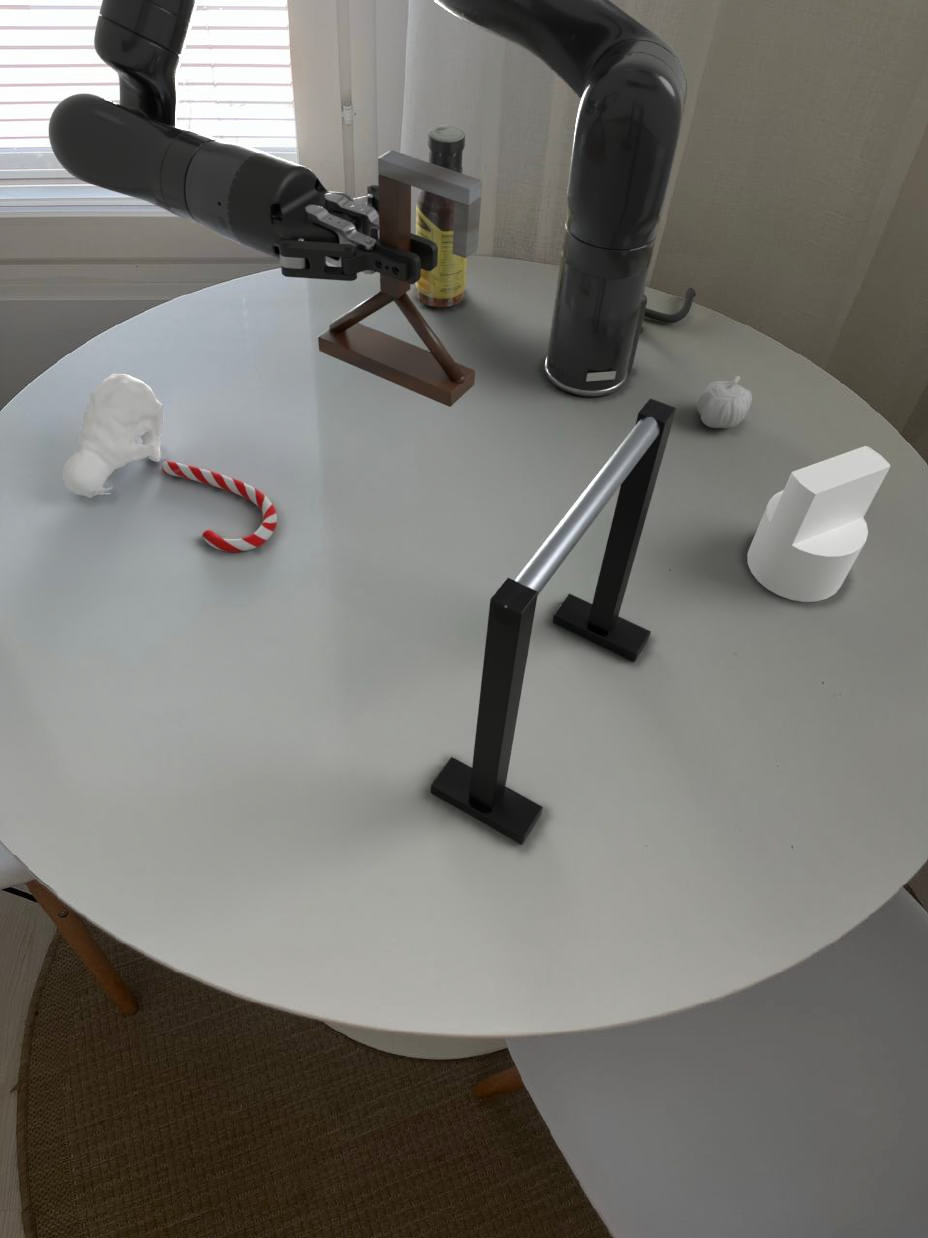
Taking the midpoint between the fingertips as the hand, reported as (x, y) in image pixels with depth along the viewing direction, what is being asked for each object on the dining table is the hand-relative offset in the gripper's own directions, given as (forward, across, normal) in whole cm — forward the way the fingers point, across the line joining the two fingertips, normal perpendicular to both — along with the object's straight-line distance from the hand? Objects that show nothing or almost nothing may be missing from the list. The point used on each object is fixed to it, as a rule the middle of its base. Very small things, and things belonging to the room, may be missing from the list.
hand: (426, 264), depth 71 cm
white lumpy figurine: (-26, -14, +24) cm, 39 cm away
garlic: (+21, +28, +24) cm, 43 cm away
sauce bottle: (-18, +31, +24) cm, 43 cm away
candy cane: (-15, -13, +24) cm, 32 cm away
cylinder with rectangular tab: (+35, +12, +24) cm, 44 cm away
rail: (+23, -16, +24) cm, 37 cm away
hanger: (-3, 0, +11) cm, 11 cm away
